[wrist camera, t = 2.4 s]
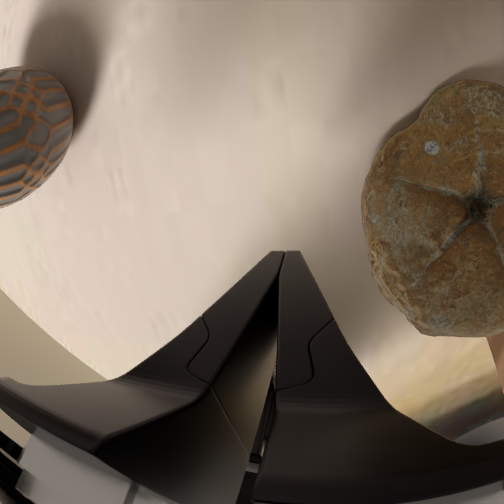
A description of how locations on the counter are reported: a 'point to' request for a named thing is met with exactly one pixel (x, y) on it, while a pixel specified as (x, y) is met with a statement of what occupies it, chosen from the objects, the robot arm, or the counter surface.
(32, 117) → the vase
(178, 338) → the robot arm
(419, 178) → the fossil
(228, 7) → the counter surface
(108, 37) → the counter surface
